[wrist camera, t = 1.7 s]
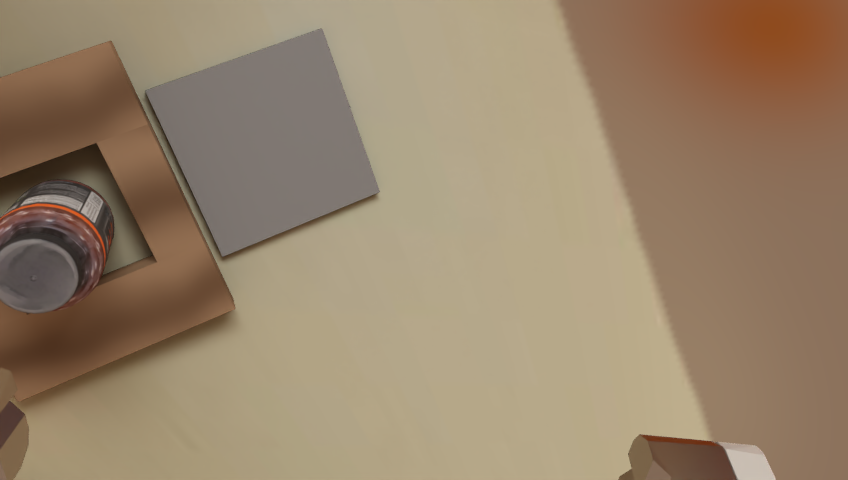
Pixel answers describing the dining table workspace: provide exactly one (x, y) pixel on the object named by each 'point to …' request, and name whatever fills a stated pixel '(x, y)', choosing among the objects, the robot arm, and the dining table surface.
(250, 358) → the dining table surface
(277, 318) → the dining table surface
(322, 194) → the slate-grey rubber mat
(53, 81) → the walnut dock board
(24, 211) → the supplement bottle
